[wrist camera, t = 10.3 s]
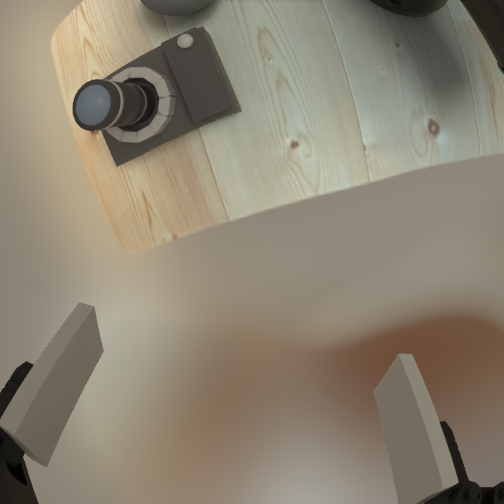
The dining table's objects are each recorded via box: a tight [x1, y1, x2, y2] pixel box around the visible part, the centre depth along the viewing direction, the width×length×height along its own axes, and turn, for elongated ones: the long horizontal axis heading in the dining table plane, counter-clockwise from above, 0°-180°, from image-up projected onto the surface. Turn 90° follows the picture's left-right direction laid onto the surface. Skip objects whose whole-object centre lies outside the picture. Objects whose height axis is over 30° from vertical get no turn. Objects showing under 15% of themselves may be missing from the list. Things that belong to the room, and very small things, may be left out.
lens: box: [73, 79, 156, 131], centre depth 25 cm, size 5×5×10 cm
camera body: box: [101, 26, 242, 166], centre depth 30 cm, size 16×11×7 cm
